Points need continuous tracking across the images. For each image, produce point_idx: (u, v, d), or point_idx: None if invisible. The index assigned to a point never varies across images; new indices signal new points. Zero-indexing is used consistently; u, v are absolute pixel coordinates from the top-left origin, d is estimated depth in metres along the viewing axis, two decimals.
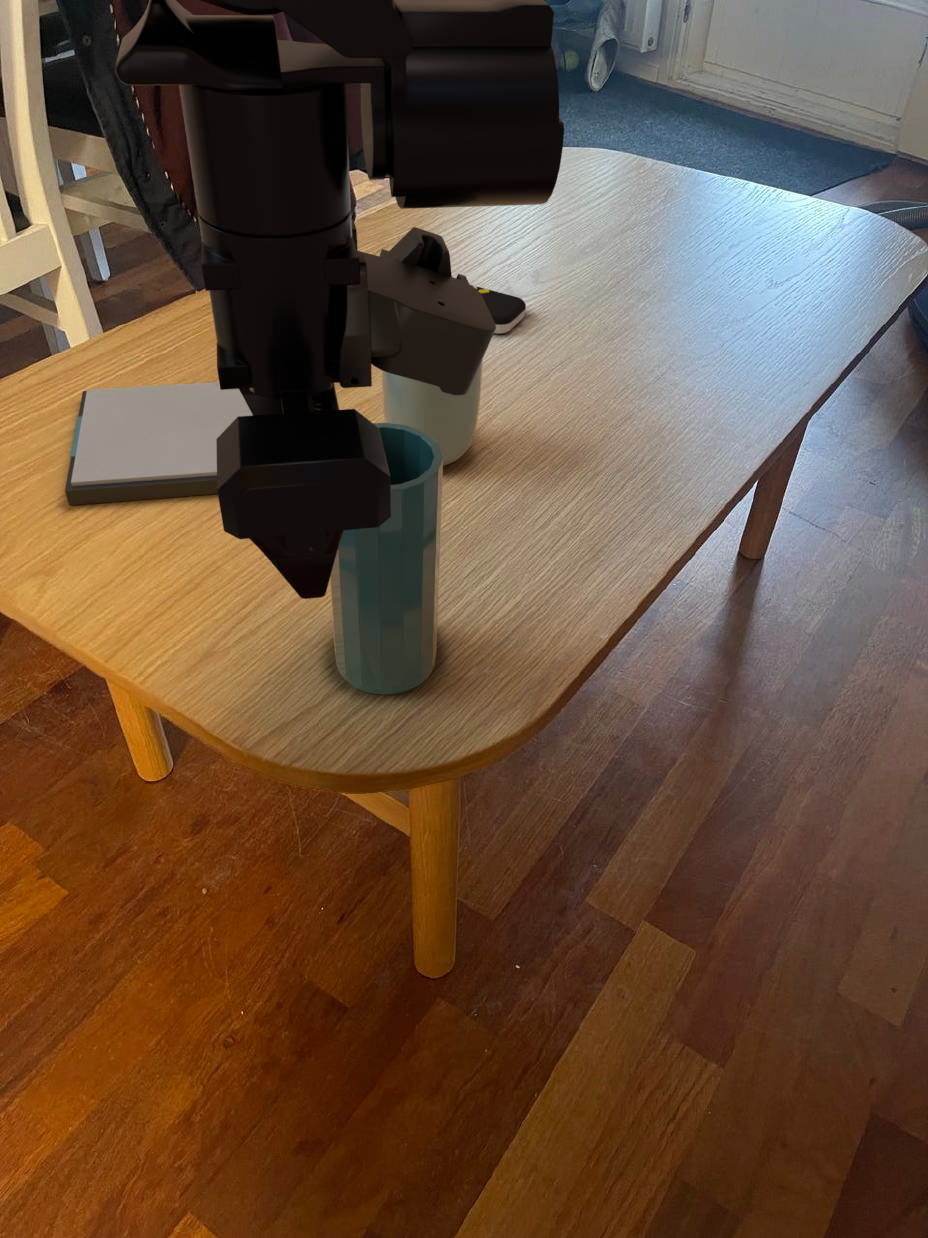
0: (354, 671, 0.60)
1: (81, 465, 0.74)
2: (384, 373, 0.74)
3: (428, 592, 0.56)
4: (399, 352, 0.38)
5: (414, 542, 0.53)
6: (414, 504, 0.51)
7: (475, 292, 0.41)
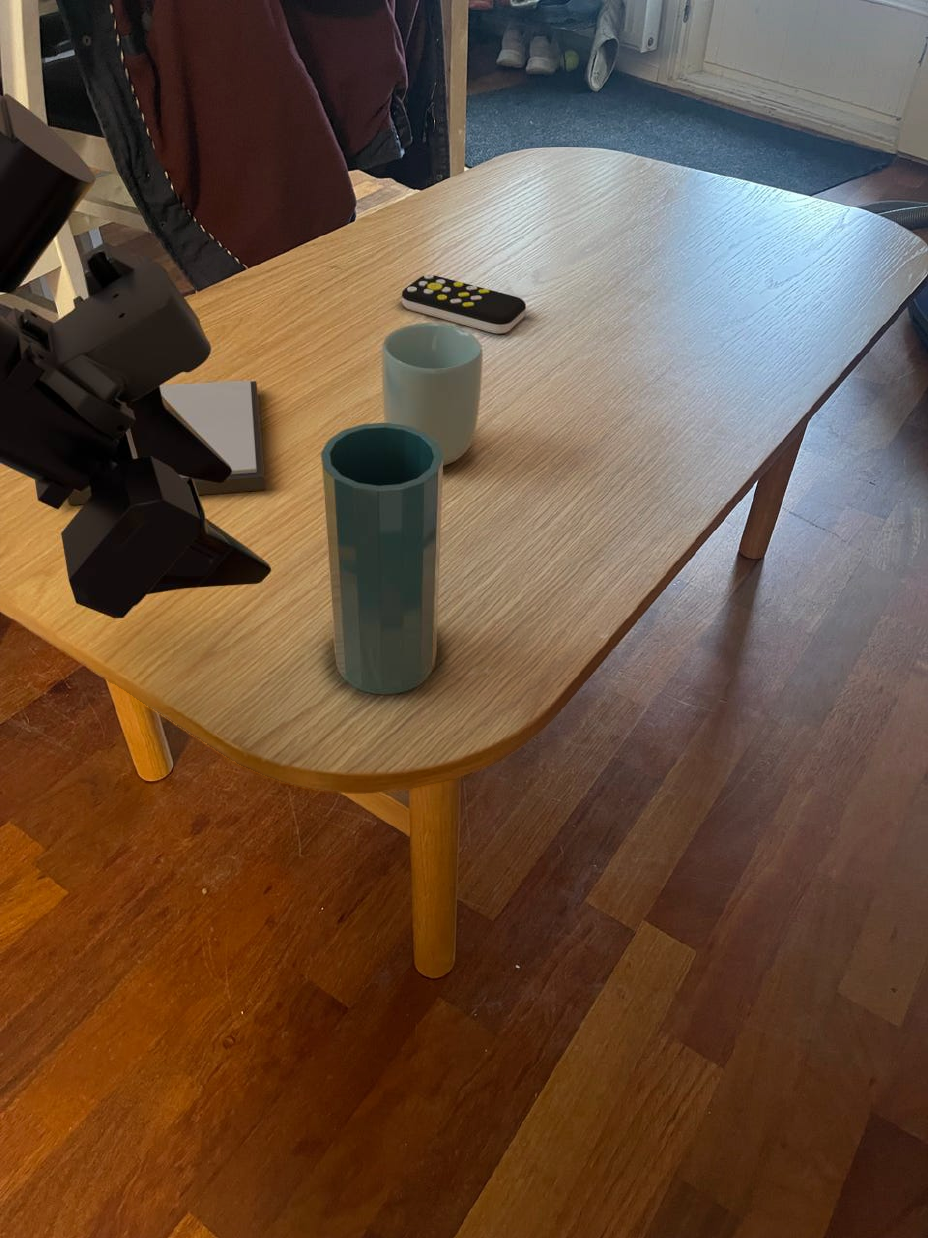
0: (354, 671, 0.60)
1: None
2: (384, 373, 0.74)
3: (428, 592, 0.56)
4: (126, 380, 0.41)
5: (414, 542, 0.53)
6: (414, 504, 0.51)
7: (154, 267, 0.42)
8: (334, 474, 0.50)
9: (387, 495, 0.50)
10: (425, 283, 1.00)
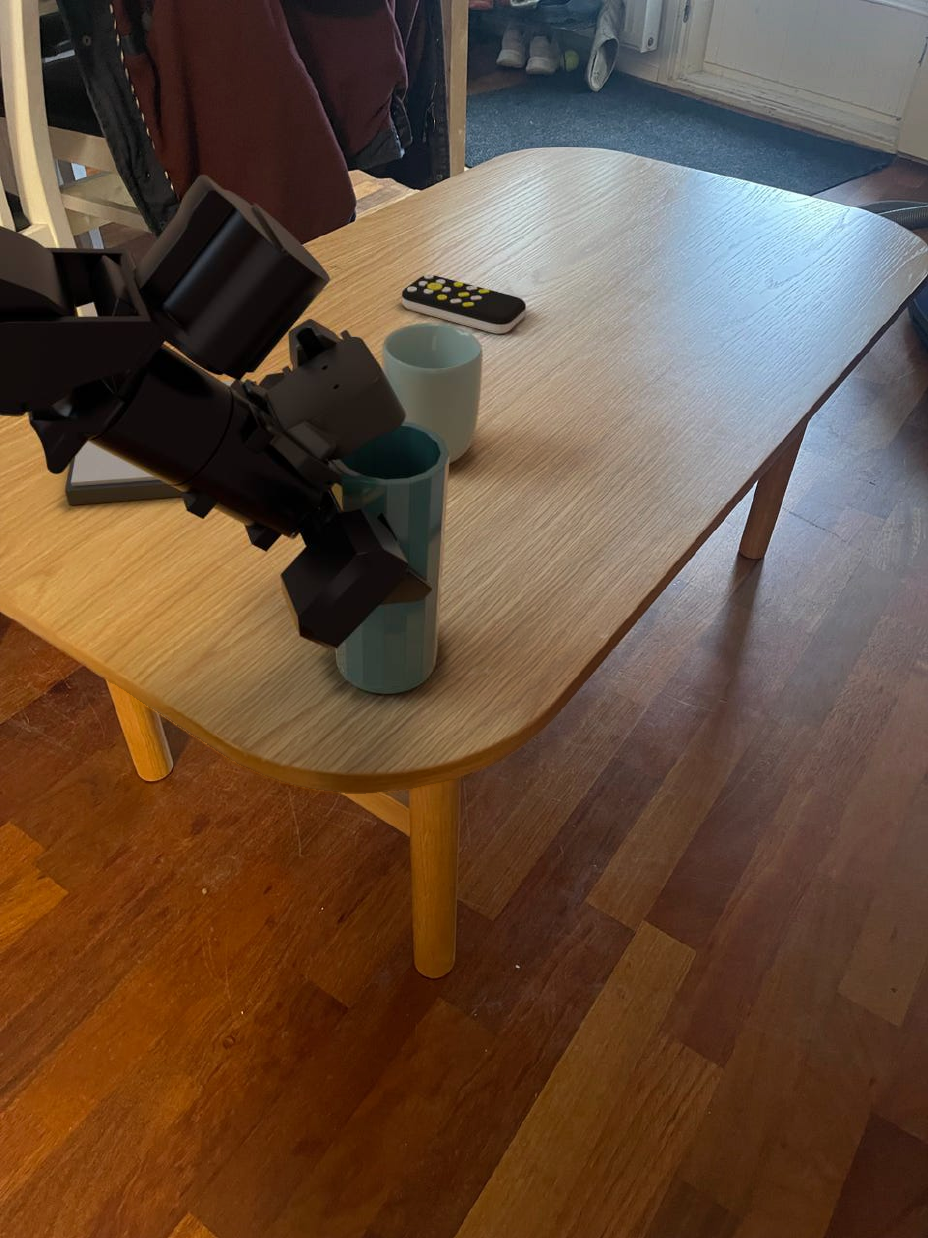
0: (355, 669, 0.59)
1: (81, 465, 0.74)
2: (384, 373, 0.74)
3: (432, 589, 0.56)
4: (338, 442, 0.47)
5: (419, 537, 0.53)
6: (421, 499, 0.51)
7: (357, 342, 0.48)
8: (341, 468, 0.50)
9: (395, 489, 0.50)
10: (425, 283, 1.00)
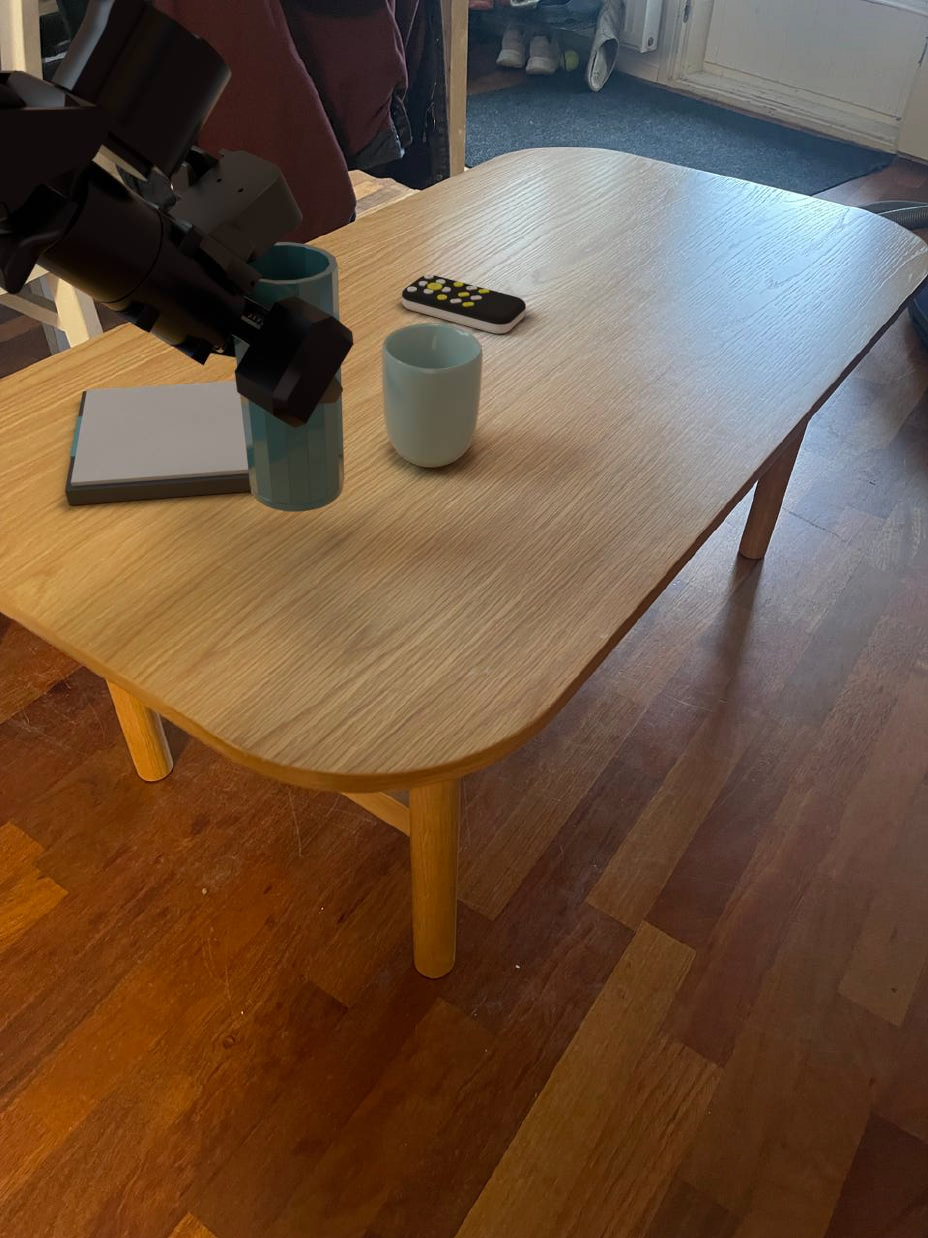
0: (282, 492, 0.64)
1: (81, 465, 0.74)
2: (384, 373, 0.74)
3: None
4: (254, 242, 0.52)
5: None
6: (326, 296, 0.57)
7: (241, 154, 0.53)
8: None
9: (305, 286, 0.55)
10: (425, 283, 1.00)
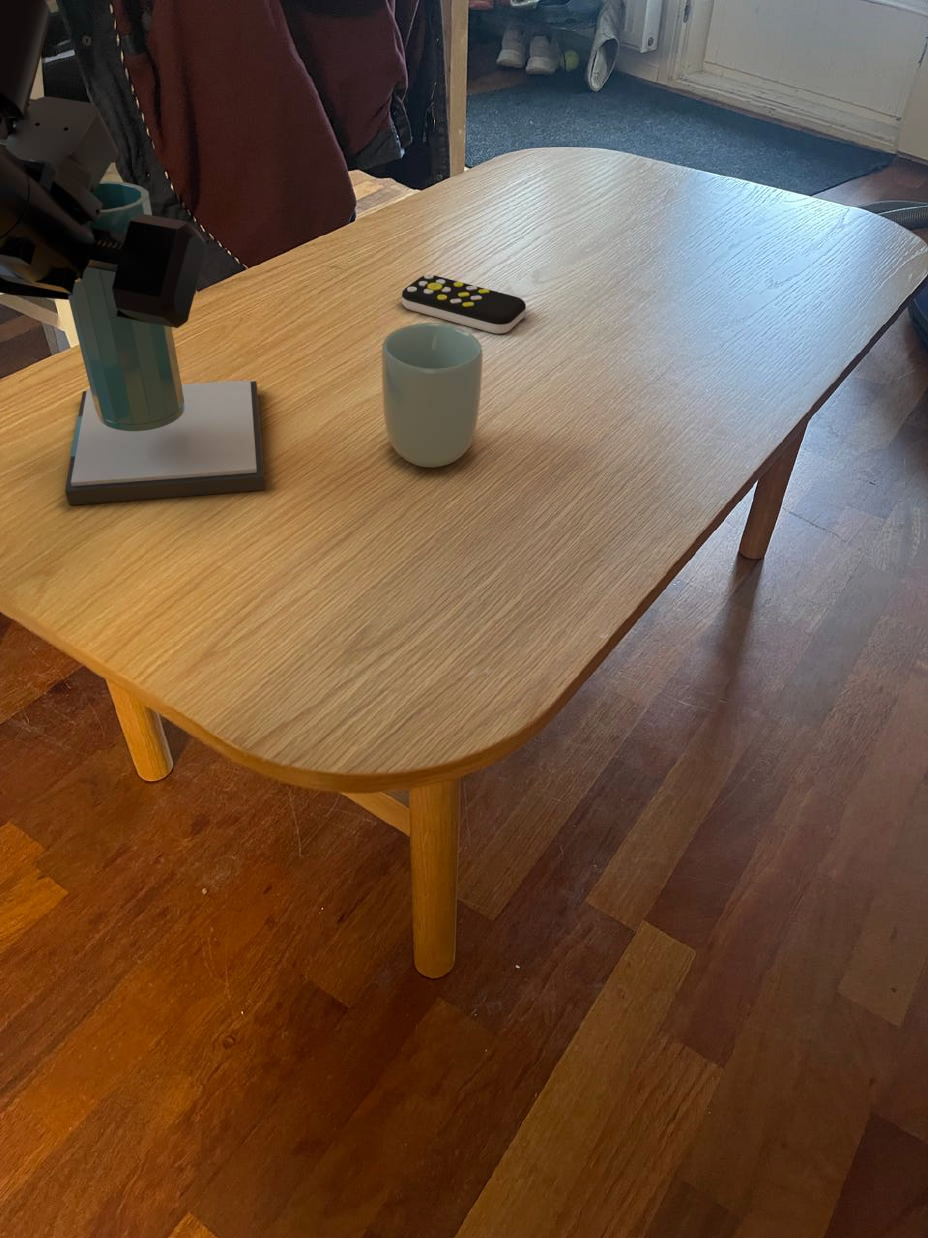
0: (140, 412, 0.70)
1: (81, 465, 0.74)
2: (384, 373, 0.74)
3: None
4: (90, 173, 0.58)
5: None
6: None
7: (47, 99, 0.59)
8: None
9: (134, 211, 0.62)
10: (425, 283, 1.00)
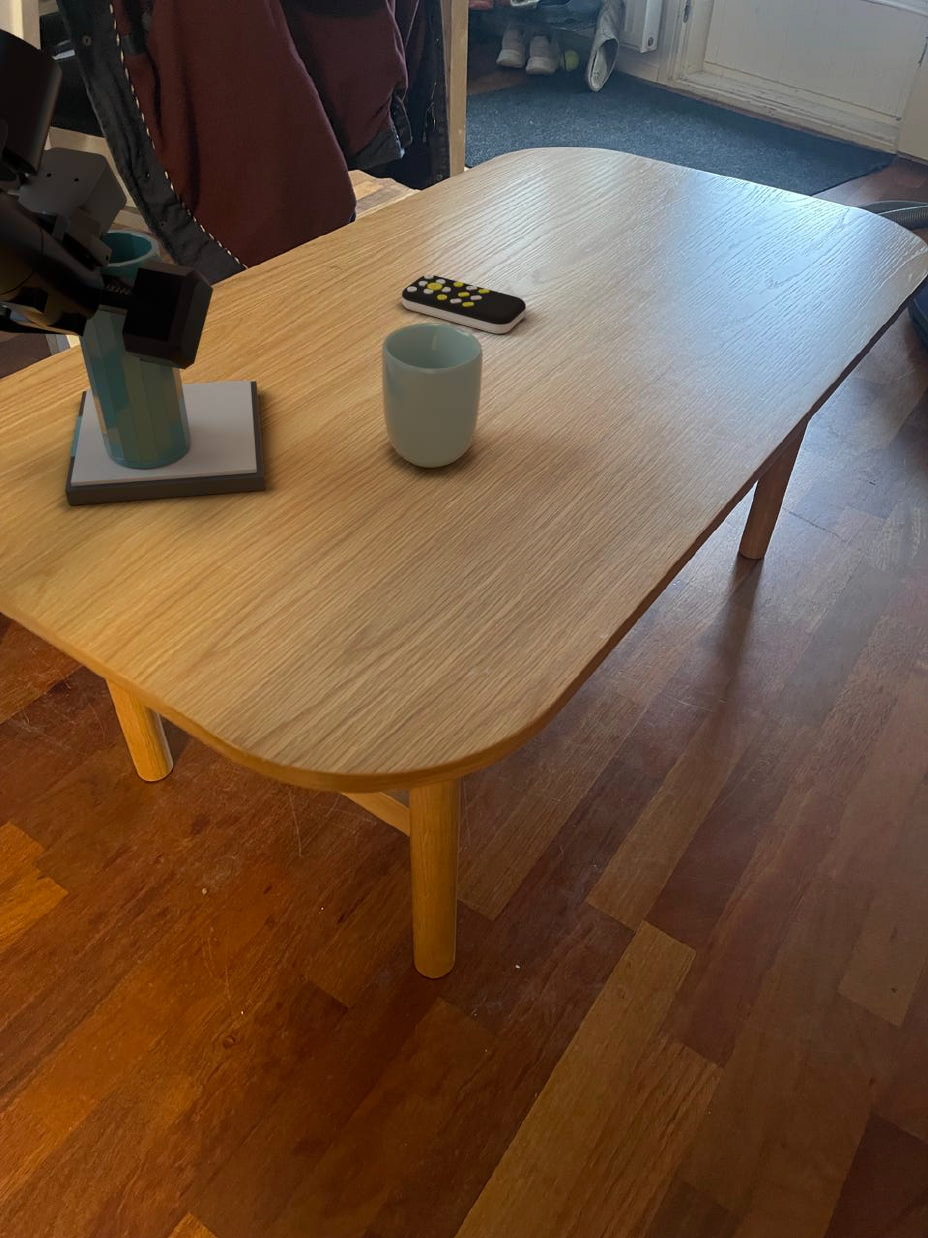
0: (149, 450, 0.73)
1: (81, 465, 0.74)
2: (384, 373, 0.74)
3: None
4: (100, 222, 0.60)
5: None
6: None
7: (58, 150, 0.61)
8: None
9: None
10: (425, 283, 1.00)
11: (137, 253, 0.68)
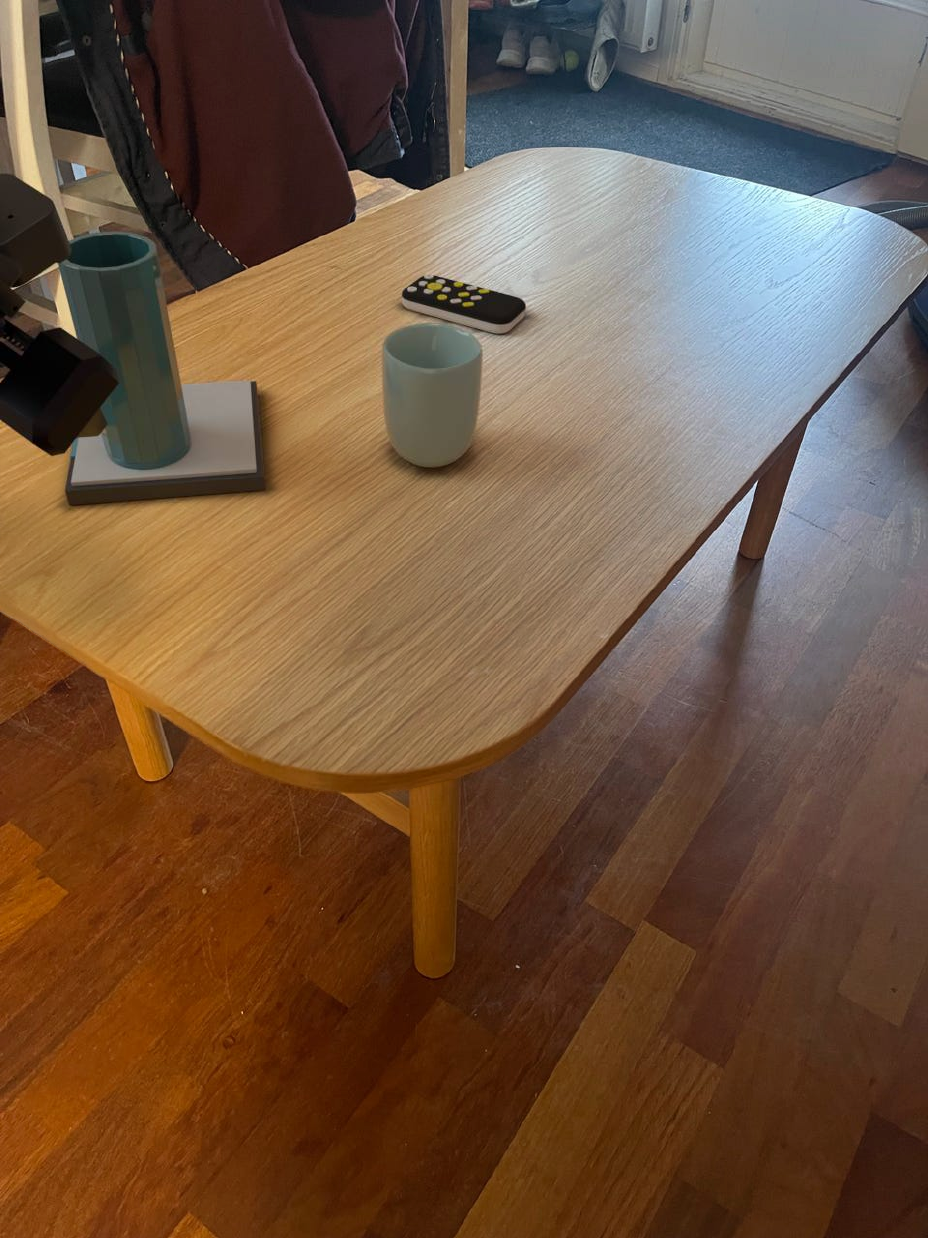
0: (149, 452, 0.73)
1: (81, 465, 0.74)
2: (384, 373, 0.74)
3: None
4: (21, 269, 0.52)
5: (163, 306, 0.68)
6: (157, 271, 0.66)
7: (11, 178, 0.53)
8: (95, 269, 0.63)
9: (143, 266, 0.64)
10: (425, 283, 1.00)
11: (135, 255, 0.68)
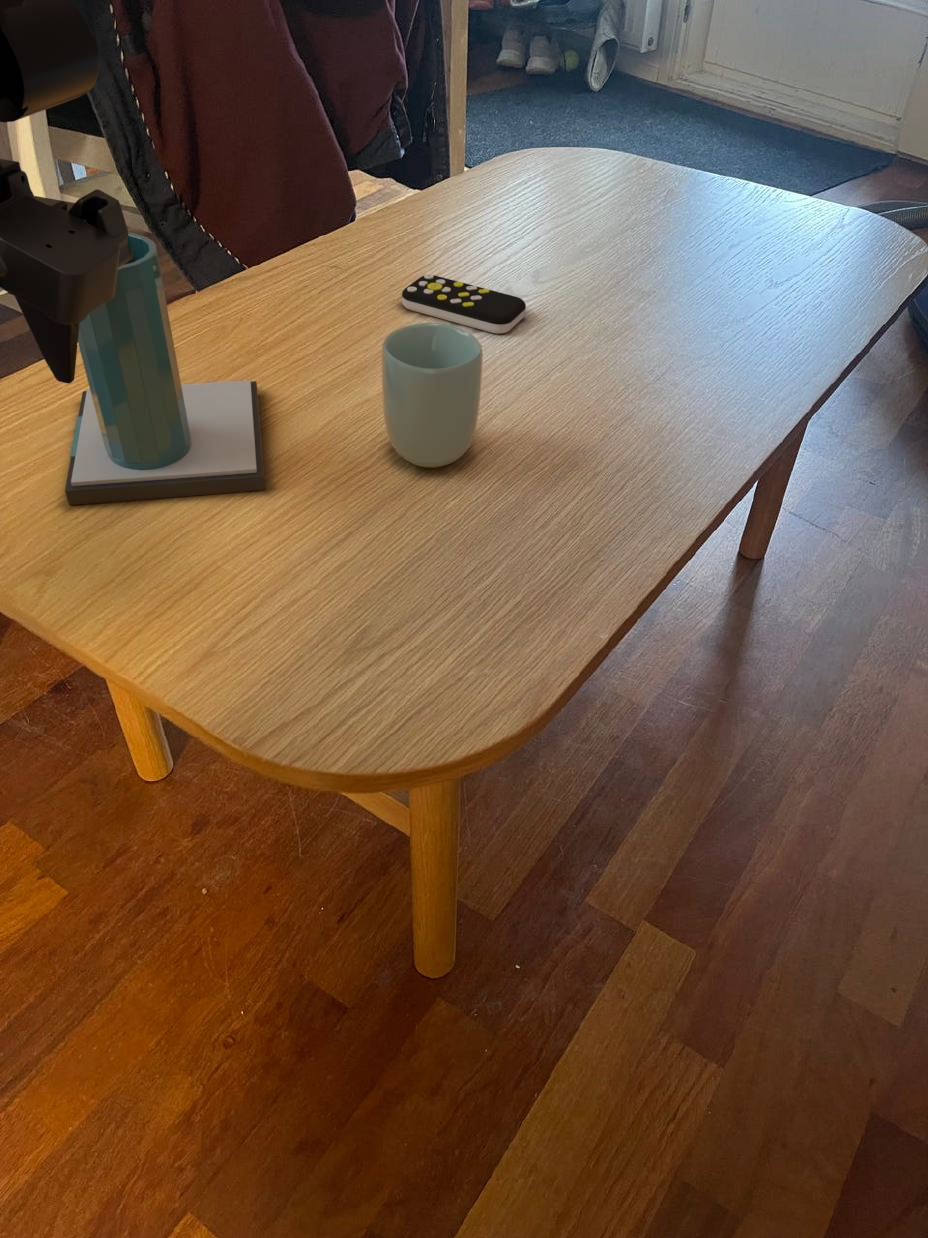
0: (149, 452, 0.73)
1: (81, 465, 0.74)
2: (384, 373, 0.74)
3: None
4: (5, 275, 0.48)
5: (163, 306, 0.68)
6: (157, 271, 0.66)
7: (112, 248, 0.50)
8: None
9: (143, 266, 0.64)
10: (425, 283, 1.00)
11: (135, 255, 0.68)
